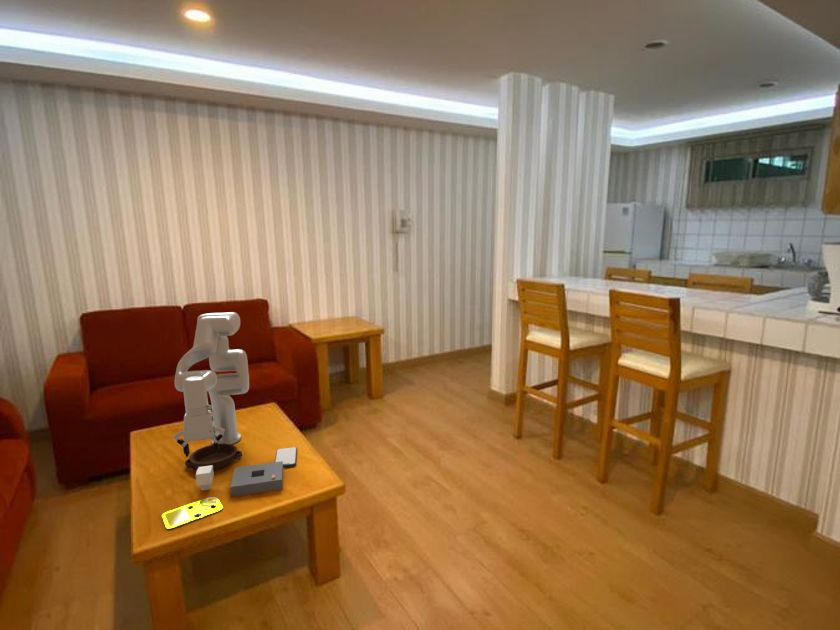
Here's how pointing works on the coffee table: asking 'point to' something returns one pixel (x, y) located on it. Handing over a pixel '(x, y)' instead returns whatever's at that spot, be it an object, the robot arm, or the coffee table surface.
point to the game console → (191, 512)
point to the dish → (213, 456)
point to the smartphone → (287, 456)
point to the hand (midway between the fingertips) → (201, 453)
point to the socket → (257, 479)
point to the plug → (204, 477)
